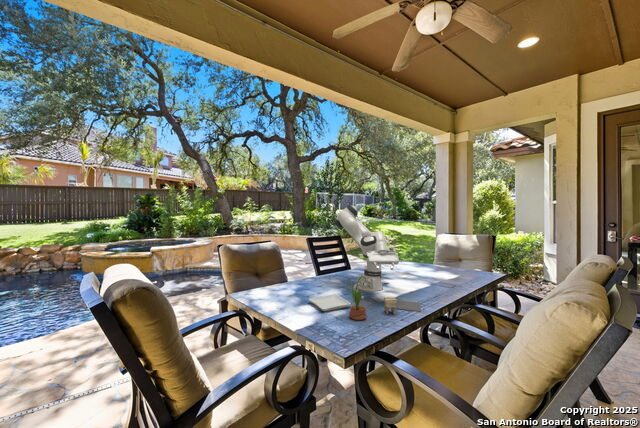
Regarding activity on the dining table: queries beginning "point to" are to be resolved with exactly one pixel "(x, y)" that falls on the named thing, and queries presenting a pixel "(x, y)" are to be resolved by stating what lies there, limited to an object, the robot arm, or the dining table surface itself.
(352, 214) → the robot arm
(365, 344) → the dining table surface
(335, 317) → the dining table surface
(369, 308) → the dining table surface
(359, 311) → the potted flower
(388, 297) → the birch stool
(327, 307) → the salad plate
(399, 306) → the grey-brown square panel
